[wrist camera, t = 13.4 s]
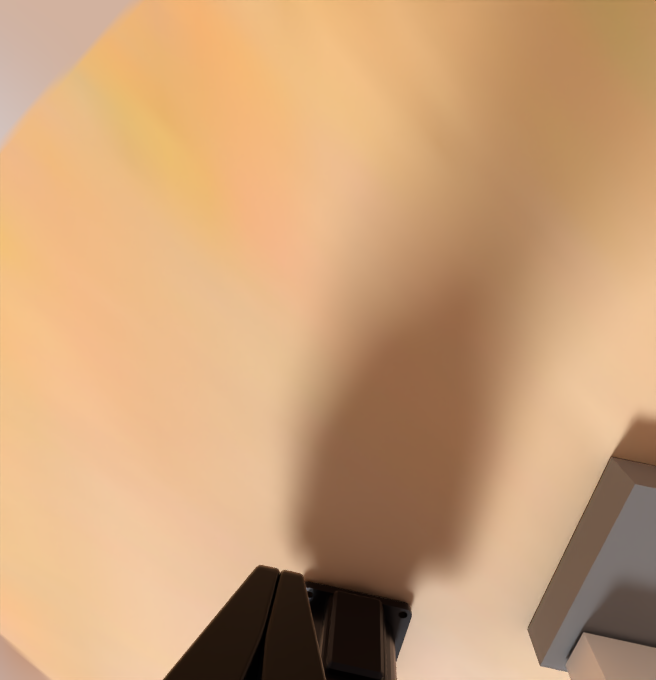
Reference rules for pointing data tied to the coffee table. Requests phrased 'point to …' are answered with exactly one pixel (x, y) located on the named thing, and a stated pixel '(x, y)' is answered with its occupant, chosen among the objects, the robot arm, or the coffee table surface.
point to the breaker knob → (611, 660)
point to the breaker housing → (604, 570)
